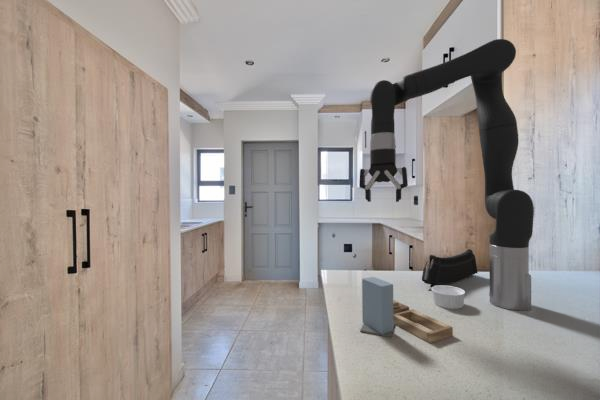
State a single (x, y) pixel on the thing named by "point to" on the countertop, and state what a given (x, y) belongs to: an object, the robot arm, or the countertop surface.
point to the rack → (403, 320)
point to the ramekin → (448, 296)
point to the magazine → (449, 269)
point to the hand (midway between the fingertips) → (383, 201)
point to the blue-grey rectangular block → (377, 304)
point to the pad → (374, 331)
